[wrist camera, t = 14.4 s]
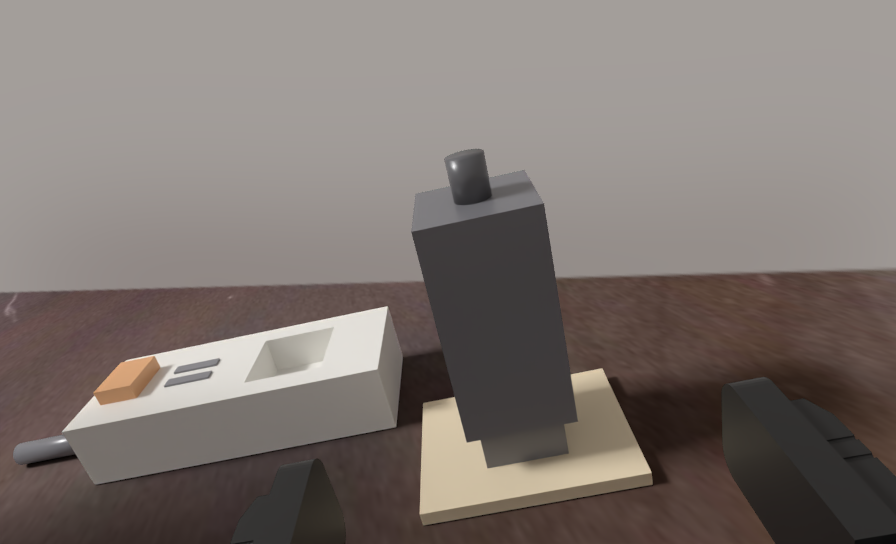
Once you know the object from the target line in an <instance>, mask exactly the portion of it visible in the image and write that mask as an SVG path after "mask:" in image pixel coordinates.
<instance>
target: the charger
mask: <svg viewBox="0 0 896 544" xmlns="http://www.w3.org/2000/svg"><path fill="white" fill-rule="evenodd" d="M444 160H445V164H446V169H447V173H448V178H449V182H450V187H445V188H441V189H436V190H432V191H427V192H422V193H418V194H416V195H415V204H414V213H413V222H412V231H411V232H412V236H413V240H414V243H415V247H416V251H417V255H418V259H419V262H420V266H421V270H422V274H423V278H424V282H425V286H426V289H427V293H428V297H429V301H430V305H431V308H432V312H433V316H434V320H435V324H436V328H437V331H438V335H439V339H440V343H441V347H442V350H443V354H444V358H445V362H446V366H447V369H448V373H449V377H450V381H451V385H452V388H453V392H454V396H455V400H456V404H457V408H458V411H459V415H460V419H461V423H462V427H463V430H464V434H465V438H466V442H467V443H468V442H473V441H478V440H480V441H481V445H482V449H483V453H484V457H485V461H486V465H487V468H493V467H498V466H504V465H509V464H514V463H520V462H525V461H531V460H536V459H542V458H547V457H552V456H558V455H563V454H569V450H568V445H567V439H566V433H565V427H564V424H569V423H574V422H578V418H577V412H576V405H575V399H574V393H573V386H572V380H571V373H570V367H569V361H568V354H567V348H566V342H565V335H564V329H563V322H562V316H561V310H560V303H559V297H558V291H557V284H556V278H555V271H554V265H553V259H552V252H551V246H550V240H549V233H548V227H547V220H546V214H545V208H544V203H543V201H542V199H541V198H540V196H539V194H538V193H537V191H536V189H535V187H534V186H533V184H532V182H531V181H530V179H529V177H528V176H527V174H526V172H525V171H524V170H522V171H518V172H513V173H509V174H504V175H500V176H495V177H490V178H489V176H488V171H487V166H486V161H485V156H484V151H483V150H481V149H471V150H464V151H460V152H457V153H454V154H451V155H449V156H447V157H446V158H445V159H444Z"/></svg>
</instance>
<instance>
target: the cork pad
mask: <svg viewBox="0 0 896 544" xmlns="http://www.w3.org/2000/svg"><path fill="white" fill-rule="evenodd" d="M571 380H572V386H573V393H574V399H575V405H576V412H577V418H578V422H574V423H569V424H564V427H565V433H566V439H567V445H568V450H569V454H563V455H558V456H552V457H547V458H542V459H536V460H531V461H525V462H520V463H514V464H509V465H504V466H498V467H493V468H487V465H486V461H485V457H484V453H483V449H482V445H481V441H480V440H478V441H473V442H468V443H467V442H466V438H465V434H464V430H463V427H462V423H461V419H460V415H459V411H458V408H457V404H456V400H455V397H452V398H447V399H442V400H437V401H431V402H426V403H423V425H422V457H421V489H420V517H421V520H422V523H423V526H424V525H429V524H435V523H440V522H446V521H452V520H457V519H463V518H468V517H474V516H480V515H485V514H491V513H496V512H502V511H508V510H513V509H519V508H524V507H530V506H536V505H541V504H547V503H553V502H558V501H564V500H569V499H575V498H581V497H586V496H592V495H597V494H603V493H609V492H614V491H620V490H625V489H631V488H637V487H642V486H648V485H653V481H652V472H651V470H650V468H649V466H648V464H647V462H646V460H645V458H644V456H643V453H642V451H641V449H640V447H639V445H638V443H637V441H636V439H635V437H634V435H633V432H632V430H631V428H630V426H629V424H628V422H627V420H626V418H625V416H624V413H623V411H622V409H621V407H620V405H619V403H618V401H617V399H616V397H615V395H614V392H613V390H612V388H611V386H610V384H609V382H608V380H607V378H606V376H605V374H604V371H603V369H597V370H592V371H586V372H581V373H576V374H571Z"/></svg>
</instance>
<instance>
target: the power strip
mask: <svg viewBox="0 0 896 544" xmlns="http://www.w3.org/2000/svg"><path fill="white" fill-rule="evenodd" d="M402 362H403V355H402V352H401V349H400V345H399V342H398V339H397V335H396V332H395V329H394V325H393V322H392V318H391V315H390V312H389V308H388V306H387V307H382V308H377V309H372V310H367V311H363V312H358V313H353V314H348V315H343V316H338V317H334V318H329V319H324V320H319V321H314V322H309V323H305V324H300V325H295V326H290V327H285V328H280V329H276V330H271V331H266V332H261V333H256V334H251V335H246V336H242V337H237V338H232V339H227V340H222V341H217V342H213V343H208V344H203V345H198V346H193V347H188V348H184V349H179V350H174V351H169V352H164V353H159V354H155V355H150V356H145V357H140V358H135V359H130V360H126V361H125V362H122V363H120V364H119V365H118V366H117V368H116V369H115V370H114V371H113V372H112V373H111V374H110V375H109V376H108V377H107V378H106V380H105V381H104V382H103V383H102V384H101V385H100V386H99V387H98V388H97V389H96V391H95V392H94V395H95V396H94V397H93V398H92V399H91V400H90V401H89V402H88V403H87V405H86V406H85V407H84V408H83V409H82V410H81V411H80V412H79V413H78V415H77V416H76V417H75V418H74V419H73V420H72V421H71V422H70V423H69V425H68V426H67V427H66V428H65V429H64V430H63V431H62V433H63V435H60V436H55V437H50V438H45V439H40V440H34V441H29V442H24V443H20V444H18V445H17V446H16V447H15V449H14V453H13V457H14V460H15V462H16V463H18V464H20V465H23V464H28V463H33V462H39V461H44V460H49V459H54V458H59V457H64V456H69V455H74V454H76V456H77V457H78V459H79V460H80V462H81V464H82V465H83V467H84V468H85V470H86V471H87V473H88V475H89V476H90V478H91V479H92V481H93V483H94V484H95V485H97V484H102V483H107V482H112V481H118V480H123V479H128V478H133V477H139V476H144V475H149V474H154V473H159V472H165V471H170V470H175V469H180V468H186V467H191V466H196V465H201V464H207V463H212V462H217V461H222V460H227V459H233V458H238V457H243V456H248V455H254V454H259V453H264V452H269V451H274V450H280V449H285V448H290V447H295V446H301V445H306V444H311V443H316V442H322V441H327V440H332V439H337V438H342V437H348V436H353V435H358V434H363V433H369V432H374V431H379V430H384V429H389V428H395V427H396V425H397V414H398V404H399V393H400V383H401V372H402Z"/></svg>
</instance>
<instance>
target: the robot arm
mask: <svg viewBox="0 0 896 544" xmlns="http://www.w3.org/2000/svg"><path fill="white" fill-rule="evenodd" d="M722 440H723V451H724V456H725V460H726V463H727V466H728V468H729V470H730V473H731V475H732V477H733V478H734V480H735V482H736V483H737V485H738V486H739V488H740V489H741V491H742V493H743V494H744V496H745V497H746V499H747V500H748V502H749V503H750V505H751V506H752V508H753V510H754V511H755V513H756V514H757V516H758V517H759V519H760V520H761V522H762V523H763V525H764V527H765V528H766V530H767V531H768V533H769V534H770V536H771V537H772V539H773V541H774V542H775V544H896V476H895V475H894V474H893V473H892V472H891V471H890V470H889V469H888V468H887V467H886V466H885V465H884V464H883V463H882V462H881V461H880V460H879V459H878V458H877V457H876V458H874V457H873V455H872V452H871V451H870V450H869V449H868V448H867V447H866V446H865V445H864V444H863V443H862V442H861V441H860V440H859V439H858V440H856V439H855V437H854V434H853V433H852V432H851V431H850V430H849V429H848V428H847V427H846V426H845V425H844V424H843V423H842V422H841V421H840V420H839V419H838V418H837V417H836V416H835V415H834V414H832V413H830V412H828V411H826V410H824V409H823V408H821V407H819V406H817V405H815V404H813V403H811V402H810V401H808V400H806V399H804V398H803V399H798V400H792V401H790V400H789V399H788V398H787V397H786V396H785V395H784V394H783V393H782V392H781V391H780V389H779V388H778V387H777V386H776V385H775V384H774V383H773V382H772V381H771V380H770V379H768V378H766V377H761V378H755V379H750V380H745V381H739V382H734V383H728V384H725V385H724V386H723V388H722ZM345 540H346V533H345V522H344V517H343V513H342V510H341V508H340V505H339V503H338V500H337V498H336V495H335V493H334V490H333V488H332V485H331V483H330V480H329V478H328V475H327V473H326V470H325V468H324V465H323V463H322V462H321V461H320V460H319V459H313V460H307V461H302V462H297V463H291V464H286V465H282V466H281V467H280V468H279V469H278V471H277V474H276V477H275V480H274V483H273V485H272V488H271V491H270V494H269V495H264V496H259V497H257V498H256V499H255V501H254V502H253V503H252V504H251V506H250V507H249V508H248V509H247V511H246V512H245V513H244V514H243V516H242V517H241V518H240V519H239V522H238V524H237V527H236V530H235V532H234V535H233V537H232V540H231V543H230V544H345Z"/></svg>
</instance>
